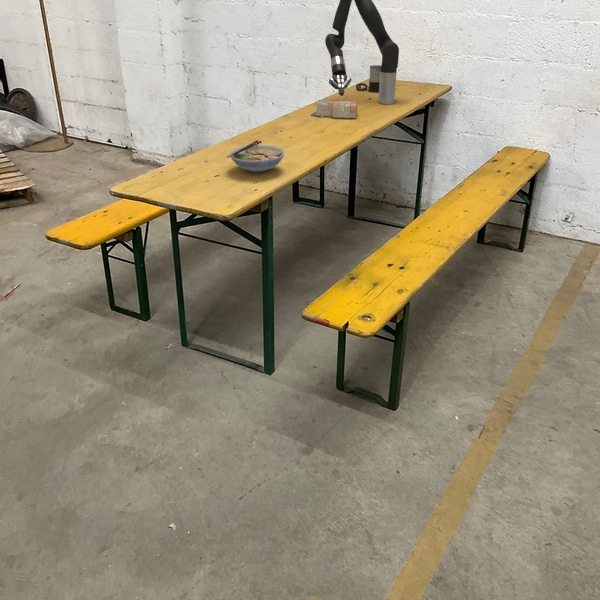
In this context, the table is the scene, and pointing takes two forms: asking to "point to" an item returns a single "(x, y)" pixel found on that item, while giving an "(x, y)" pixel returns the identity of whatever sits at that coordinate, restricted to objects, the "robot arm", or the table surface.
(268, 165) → the ramen bowl
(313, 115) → the charcoal rubber mat
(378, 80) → the milk frother
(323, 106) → the stack of blocks
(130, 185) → the table surface
